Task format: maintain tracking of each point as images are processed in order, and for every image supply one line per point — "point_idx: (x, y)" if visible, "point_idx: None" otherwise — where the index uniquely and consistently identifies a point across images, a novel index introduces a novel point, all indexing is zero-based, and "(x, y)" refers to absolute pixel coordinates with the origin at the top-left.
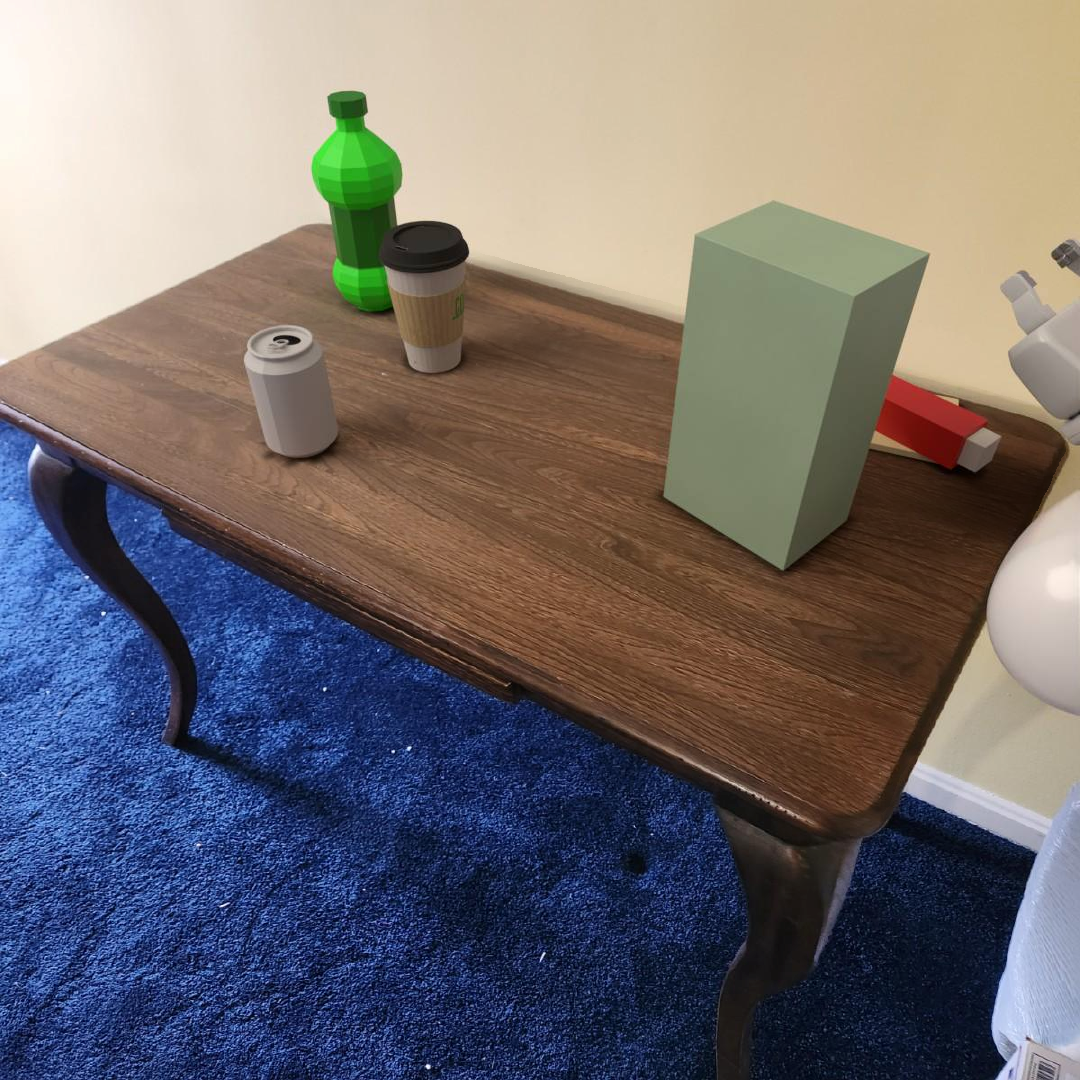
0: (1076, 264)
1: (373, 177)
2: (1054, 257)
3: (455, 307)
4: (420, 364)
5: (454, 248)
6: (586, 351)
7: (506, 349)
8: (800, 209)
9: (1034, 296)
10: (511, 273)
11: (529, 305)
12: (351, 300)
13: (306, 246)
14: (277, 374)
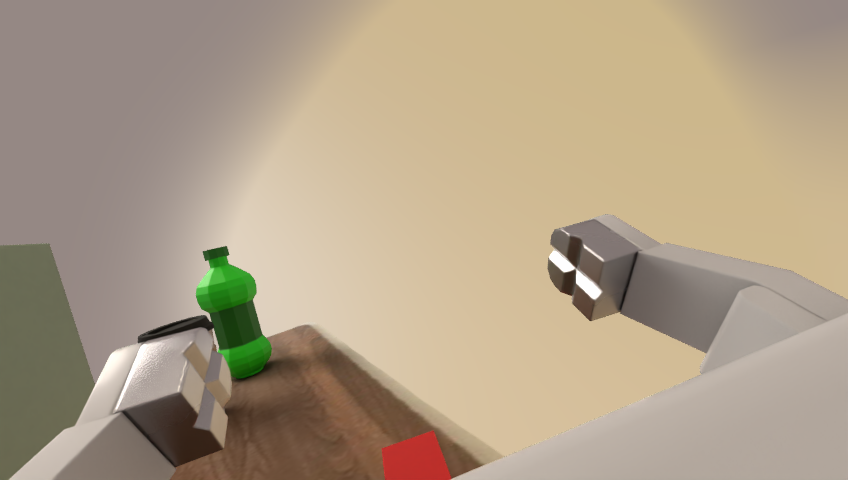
0: (647, 301)
1: (211, 291)
2: (558, 285)
3: None
4: None
5: (169, 333)
6: (294, 424)
7: (251, 416)
8: (6, 245)
9: (21, 477)
10: (345, 351)
11: (320, 376)
12: None
13: (279, 337)
14: None
